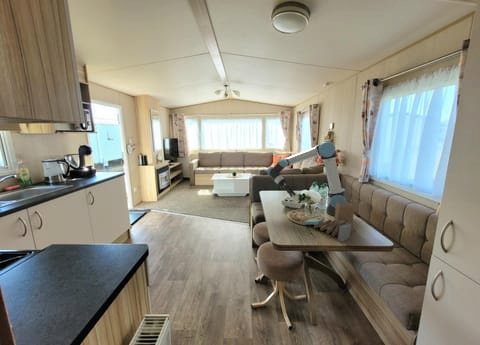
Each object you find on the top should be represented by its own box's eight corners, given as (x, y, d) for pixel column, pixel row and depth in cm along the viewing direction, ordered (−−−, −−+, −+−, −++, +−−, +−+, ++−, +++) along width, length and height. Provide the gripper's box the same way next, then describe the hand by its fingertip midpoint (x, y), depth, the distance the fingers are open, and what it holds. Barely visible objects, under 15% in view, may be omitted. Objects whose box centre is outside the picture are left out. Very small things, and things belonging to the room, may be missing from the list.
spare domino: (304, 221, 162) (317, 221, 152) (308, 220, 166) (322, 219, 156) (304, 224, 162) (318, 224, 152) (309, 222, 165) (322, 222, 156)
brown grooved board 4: (325, 232, 148) (335, 221, 141) (330, 229, 151) (340, 219, 144) (327, 234, 147) (337, 223, 140) (332, 232, 150) (342, 221, 143)
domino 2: (313, 226, 156) (325, 221, 147) (318, 224, 159) (330, 219, 150) (314, 228, 155) (327, 224, 146) (319, 226, 159) (332, 221, 150)
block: (351, 233, 148) (355, 207, 144) (336, 232, 150) (339, 205, 146) (347, 227, 157) (350, 202, 153) (333, 226, 159) (335, 201, 155)
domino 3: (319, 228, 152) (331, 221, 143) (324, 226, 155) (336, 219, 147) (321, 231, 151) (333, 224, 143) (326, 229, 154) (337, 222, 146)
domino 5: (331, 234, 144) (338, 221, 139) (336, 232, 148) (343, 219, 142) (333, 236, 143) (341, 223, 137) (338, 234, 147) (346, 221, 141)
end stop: (344, 236, 144) (346, 222, 142) (349, 237, 142) (350, 224, 140) (337, 239, 139) (339, 225, 137) (342, 241, 137) (343, 227, 135)
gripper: (278, 187, 194) (294, 205, 185) (276, 180, 171) (294, 200, 162) (284, 182, 194) (301, 199, 185) (283, 174, 171) (301, 193, 162)
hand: (297, 199), depth 174 cm, fingers open, 13 cm apart
